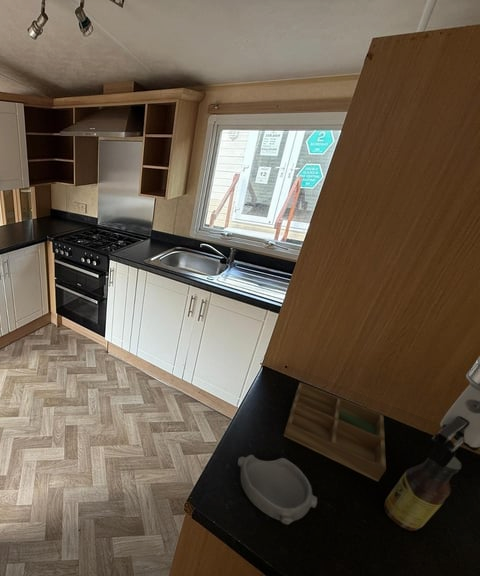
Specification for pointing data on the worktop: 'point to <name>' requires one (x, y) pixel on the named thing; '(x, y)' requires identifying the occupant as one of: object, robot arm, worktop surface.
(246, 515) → the worktop surface
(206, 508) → the worktop surface
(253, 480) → the dish
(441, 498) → the sauce bottle
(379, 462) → the grid
